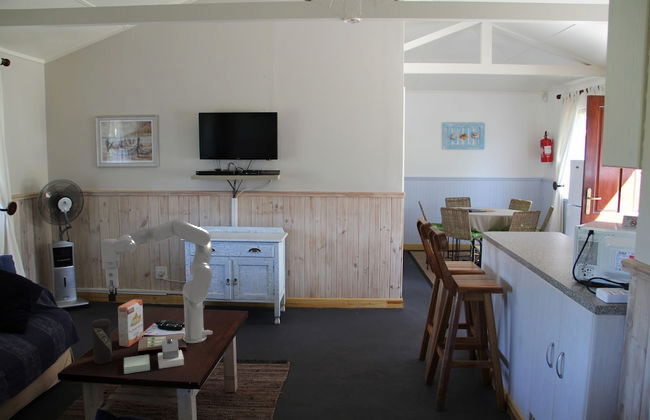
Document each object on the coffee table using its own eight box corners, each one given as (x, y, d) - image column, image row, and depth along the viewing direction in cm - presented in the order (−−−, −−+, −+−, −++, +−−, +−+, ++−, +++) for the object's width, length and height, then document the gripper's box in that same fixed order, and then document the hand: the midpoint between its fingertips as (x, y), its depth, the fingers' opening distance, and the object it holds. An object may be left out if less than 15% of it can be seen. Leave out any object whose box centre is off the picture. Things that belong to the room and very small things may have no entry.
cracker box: (129, 347, 254) (127, 307, 251) (118, 346, 255) (116, 306, 252) (144, 337, 268) (142, 299, 265) (134, 336, 269) (132, 298, 266)
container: (100, 366, 232) (98, 325, 230) (89, 361, 237) (86, 321, 234) (117, 359, 239) (114, 319, 237) (105, 355, 244) (103, 316, 242)
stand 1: (149, 360, 239) (148, 354, 238) (150, 370, 229) (149, 363, 228) (124, 363, 235) (124, 357, 234) (124, 373, 225) (123, 367, 224)
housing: (177, 352, 240) (177, 336, 239) (178, 357, 235) (178, 340, 234) (162, 354, 238) (161, 338, 237) (163, 359, 233) (162, 343, 232)
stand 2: (181, 355, 244) (181, 349, 244) (183, 364, 234) (183, 358, 234) (157, 359, 240) (157, 353, 240) (159, 368, 230) (158, 362, 230)
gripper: (118, 267, 234) (120, 303, 236) (120, 259, 250) (121, 292, 252) (101, 269, 231) (103, 304, 233) (103, 261, 247) (105, 294, 250)
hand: (112, 298), depth 243 cm, fingers open, 9 cm apart
